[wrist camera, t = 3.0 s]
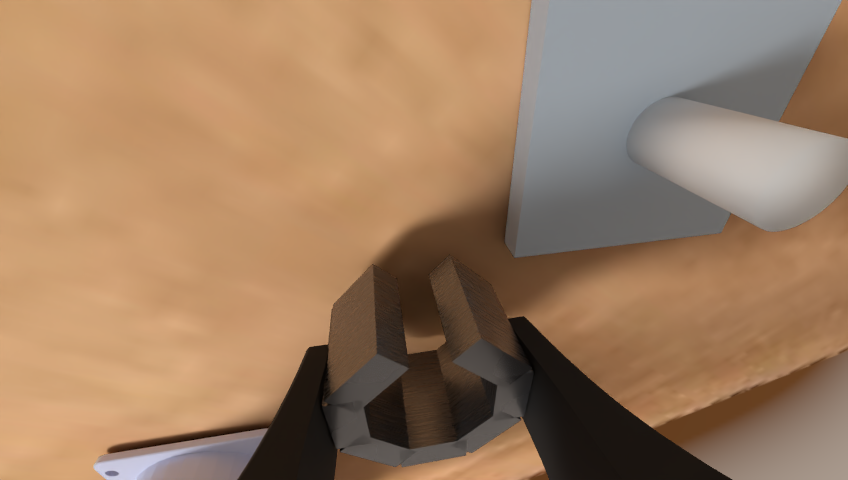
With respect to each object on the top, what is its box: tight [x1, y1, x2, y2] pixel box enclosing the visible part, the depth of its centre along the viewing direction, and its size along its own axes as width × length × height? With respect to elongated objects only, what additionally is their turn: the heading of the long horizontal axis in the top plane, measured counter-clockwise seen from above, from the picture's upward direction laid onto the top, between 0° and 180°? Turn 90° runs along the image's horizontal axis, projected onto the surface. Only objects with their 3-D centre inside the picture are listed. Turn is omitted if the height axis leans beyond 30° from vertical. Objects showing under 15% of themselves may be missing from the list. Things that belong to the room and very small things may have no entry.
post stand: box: [504, 0, 848, 258], centre depth 9 cm, size 8×8×5 cm
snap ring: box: [322, 255, 534, 467], centre depth 11 cm, size 6×6×4 cm
